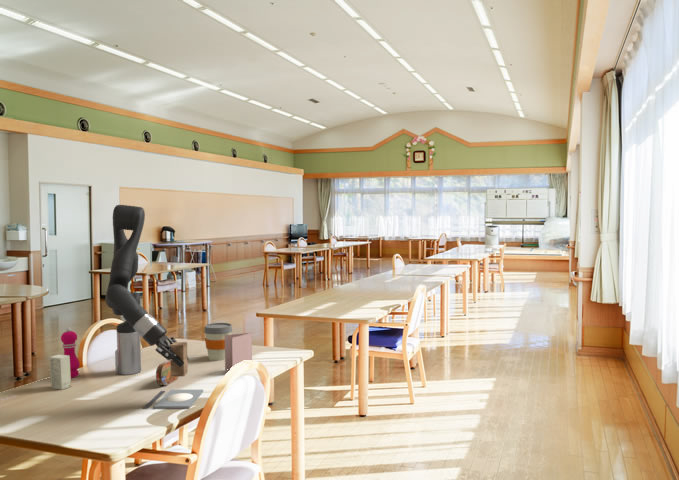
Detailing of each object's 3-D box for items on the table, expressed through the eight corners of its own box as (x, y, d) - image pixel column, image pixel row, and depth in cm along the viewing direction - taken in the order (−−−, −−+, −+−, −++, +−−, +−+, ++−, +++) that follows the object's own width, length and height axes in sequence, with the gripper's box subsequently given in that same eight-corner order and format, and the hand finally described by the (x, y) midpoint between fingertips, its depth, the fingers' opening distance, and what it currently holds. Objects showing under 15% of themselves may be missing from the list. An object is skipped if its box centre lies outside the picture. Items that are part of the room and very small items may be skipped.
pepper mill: (60, 379, 223) (59, 330, 222) (60, 375, 229) (58, 326, 228) (80, 377, 226) (79, 328, 225) (79, 372, 233) (78, 325, 232)
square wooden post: (170, 376, 195) (170, 345, 194) (174, 372, 199) (174, 342, 199) (183, 376, 195) (183, 345, 194) (187, 372, 199) (187, 342, 199)
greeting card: (251, 367, 240) (251, 332, 239) (255, 371, 233) (254, 335, 232) (224, 369, 236) (224, 334, 235) (227, 374, 229) (227, 338, 228)
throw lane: (142, 408, 189) (142, 405, 189) (161, 391, 207) (161, 389, 207) (189, 408, 188) (189, 405, 188) (203, 391, 206) (203, 389, 206)
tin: (162, 388, 211) (161, 366, 211) (154, 387, 212) (154, 365, 211) (181, 376, 226) (180, 356, 225) (174, 376, 226) (173, 356, 226)
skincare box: (71, 386, 213) (70, 355, 213) (61, 390, 209) (60, 358, 209) (60, 384, 216) (59, 353, 215) (49, 388, 212) (48, 356, 211)
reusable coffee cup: (229, 361, 249) (228, 328, 248) (201, 361, 249) (200, 328, 249) (235, 354, 262) (234, 322, 261) (208, 354, 262) (207, 322, 261)
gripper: (150, 325, 189) (186, 360, 190) (164, 318, 204) (197, 350, 204) (134, 341, 190) (170, 376, 190) (149, 332, 204) (183, 365, 204)
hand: (184, 363), depth 197 cm, fingers closed on square wooden post, 4 cm apart
